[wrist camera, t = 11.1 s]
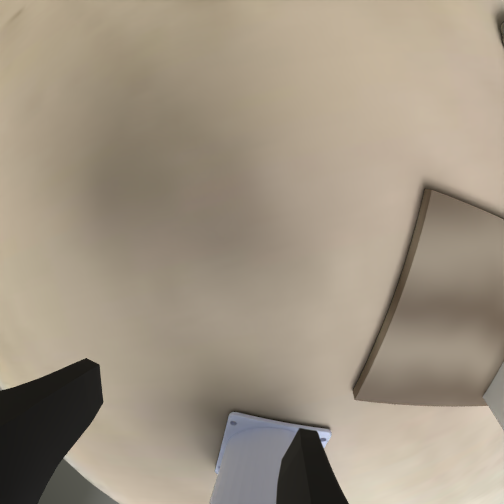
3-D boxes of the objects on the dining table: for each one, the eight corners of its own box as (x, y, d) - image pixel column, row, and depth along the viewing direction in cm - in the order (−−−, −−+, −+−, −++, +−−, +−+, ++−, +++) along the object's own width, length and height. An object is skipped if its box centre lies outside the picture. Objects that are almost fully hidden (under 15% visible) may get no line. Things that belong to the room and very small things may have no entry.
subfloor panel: (511, 397, 17) (516, 403, 16) (352, 390, 18) (354, 400, 17) (573, 258, 13) (580, 261, 12) (424, 188, 15) (432, 189, 14)
